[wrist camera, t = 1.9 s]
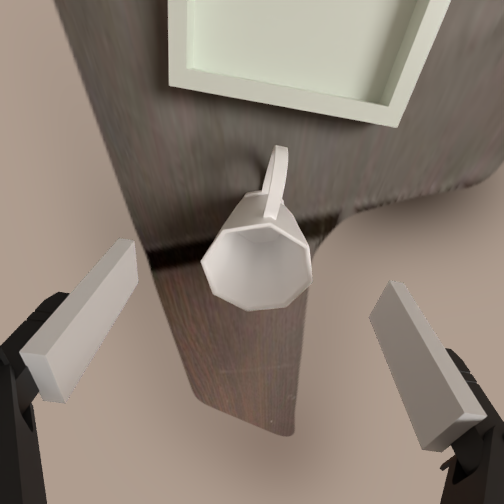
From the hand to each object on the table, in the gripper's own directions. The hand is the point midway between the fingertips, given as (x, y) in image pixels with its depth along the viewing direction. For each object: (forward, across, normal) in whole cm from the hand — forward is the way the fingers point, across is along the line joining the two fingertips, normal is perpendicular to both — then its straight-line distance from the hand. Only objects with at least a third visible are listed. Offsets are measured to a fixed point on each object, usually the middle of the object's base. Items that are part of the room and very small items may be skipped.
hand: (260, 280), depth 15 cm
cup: (+10, 0, 0) cm, 10 cm away
